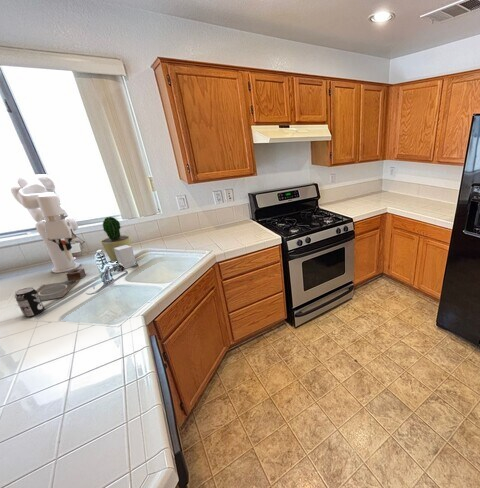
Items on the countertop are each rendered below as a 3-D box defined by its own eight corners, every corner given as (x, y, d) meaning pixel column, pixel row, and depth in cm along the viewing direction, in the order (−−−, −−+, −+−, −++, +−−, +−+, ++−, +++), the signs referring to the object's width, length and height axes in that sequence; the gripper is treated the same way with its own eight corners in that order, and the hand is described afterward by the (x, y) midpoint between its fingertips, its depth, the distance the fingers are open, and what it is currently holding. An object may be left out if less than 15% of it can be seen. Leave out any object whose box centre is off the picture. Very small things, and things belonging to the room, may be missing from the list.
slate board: (43, 285, 144) (43, 284, 143) (80, 280, 149) (79, 279, 149) (20, 304, 126) (19, 303, 126) (62, 298, 132) (61, 296, 131)
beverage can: (44, 307, 124) (34, 285, 120) (46, 312, 120) (35, 289, 116) (23, 314, 119) (12, 291, 115) (25, 319, 115) (13, 296, 111)
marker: (69, 260, 149) (61, 240, 145) (73, 259, 150) (66, 239, 146) (67, 261, 147) (60, 241, 143) (71, 260, 148) (64, 240, 144)
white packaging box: (137, 264, 168) (132, 246, 164) (124, 269, 162) (118, 250, 158) (131, 262, 172) (126, 244, 168) (118, 266, 166) (113, 247, 162)
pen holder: (73, 276, 154) (70, 270, 153) (86, 274, 156) (83, 268, 155) (68, 280, 149) (65, 274, 147) (81, 278, 151) (79, 272, 149)
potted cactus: (113, 266, 166) (98, 220, 156) (103, 261, 174) (88, 217, 164) (139, 258, 178) (127, 215, 168) (129, 253, 186) (117, 212, 176)
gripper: (76, 215, 146) (87, 245, 152) (39, 217, 140) (52, 249, 147) (70, 218, 139) (81, 250, 146) (30, 221, 134) (44, 254, 140)
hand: (66, 249), depth 146 cm, fingers closed on marker, 2 cm apart
